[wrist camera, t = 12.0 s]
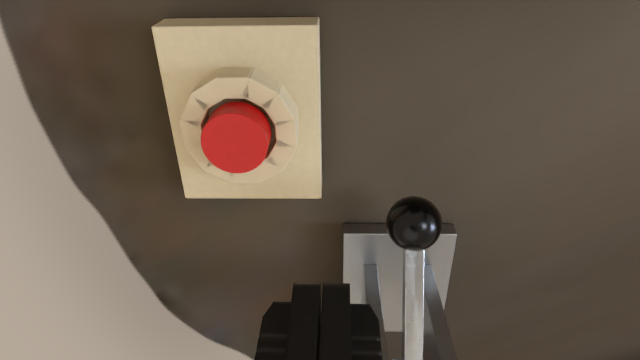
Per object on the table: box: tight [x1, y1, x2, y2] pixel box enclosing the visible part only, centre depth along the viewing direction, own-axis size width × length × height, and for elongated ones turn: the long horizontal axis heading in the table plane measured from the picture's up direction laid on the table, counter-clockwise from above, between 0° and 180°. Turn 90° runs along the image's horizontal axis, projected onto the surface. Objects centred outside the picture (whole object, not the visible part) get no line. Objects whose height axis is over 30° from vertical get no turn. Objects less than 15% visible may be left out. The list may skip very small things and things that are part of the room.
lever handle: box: [386, 196, 442, 360], centre depth 27 cm, size 13×3×3 cm, turn 1°
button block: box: [152, 17, 322, 199], centre depth 27 cm, size 11×9×4 cm
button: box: [201, 101, 271, 173], centre depth 25 cm, size 4×4×2 cm
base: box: [343, 223, 457, 360], centre depth 30 cm, size 10×8×12 cm
